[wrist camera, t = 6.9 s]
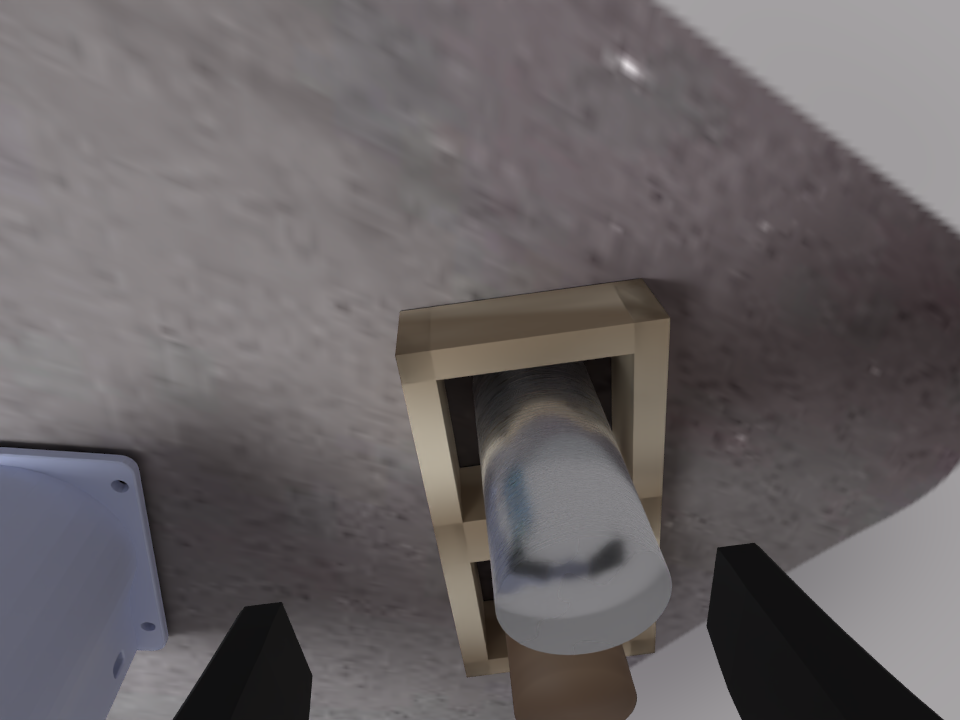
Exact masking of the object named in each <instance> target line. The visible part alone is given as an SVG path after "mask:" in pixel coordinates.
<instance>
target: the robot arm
mask: <svg viewBox="0 0 960 720" xmlns="http://www.w3.org/2000/svg"><path fill="white" fill-rule="evenodd" d="M118 480H120V481H124V482H125V483H127V484H123V483H121V482H120V481H118ZM707 629H708V632H709V635H710V638H711V641H712V644H713V647H714V650H715V653H716V656H717V659H718V662H719V665H720V668H721V671H722V674H723V676H724V679H725V682H726V685H727V688H728V690H729V692H730V695H731V697H732V699H733V701H734V704H735V706H736V708H737V710H738V713H739V715H740V717H741V719H742V720H943V719H942V718H941V717H940V716H938V714H936V713H935V712H934V711H933V710H932V709H931V708H929V707H928V706H927V705H926V704H924V703H923V702H922V701H921V700H920V699H919V698H918V697H916V696H915V695H914V694H913V693H912V692H911V691H910V690H908V689H907V688H906V687H905V686H904V685H903V684H902V683H901V682H899V681H898V680H897V679H896V678H895V677H894V676H893V675H891V674H890V673H889V672H888V671H887V670H886V669H885V668H884V667H883V666H882V665H881V664H879V663H878V662H877V661H876V660H875V659H874V658H873V657H872V656H871V655H869V653H867V652H866V651H865V650H864V649H863V648H862V647H861V646H860V645H859V644H858V643H857V642H856V641H855V640H853V639H852V638H851V637H850V636H849V635H848V634H847V633H846V632H845V631H844V630H843V629H842V628H841V627H840V626H838V624H837V623H835V622H834V621H833V620H832V619H831V618H830V617H829V616H828V615H827V614H826V613H825V612H824V611H823V610H822V609H821V608H820V607H819V606H818V605H817V604H816V603H815V602H814V601H813V600H812V599H811V598H810V597H809V596H808V595H807V594H806V593H804V591H803V590H802V589H801V588H800V587H799V586H798V585H797V584H796V583H795V582H794V581H793V580H792V579H791V578H789V576H788V575H787V574H786V573H785V572H784V571H783V570H782V569H781V568H780V567H779V566H778V565H777V564H776V563H775V562H774V561H773V560H772V559H771V558H770V557H769V556H768V555H767V554H766V553H765V552H764V551H763V550H762V549H761V548H760V547H759V546H757V545H756V544H755V543H750V544H742V545H734V546H726V547H718V548H717V554H716V561H715V568H714V576H713V583H712V590H711V598H710V605H709V612H708V619H707ZM168 636H169V635H168V630H167V624H166V619H165V613H164V607H163V602H162V596H161V590H160V585H159V579H158V573H157V568H156V562H155V556H154V551H153V545H152V539H151V534H150V528H149V523H148V517H147V511H146V506H145V500H144V494H143V489H142V483H141V477H140V472H139V467H138V465H137V463H136V462H135V461H134V460H133V459H131V458H129V457H127V456H123V455H114V454H99V453H83V452H68V451H53V450H38V449H23V448H8V447H0V720H106V717H107V715H108V713H109V711H110V709H111V706H112V704H113V702H114V700H115V698H116V695H117V693H118V691H119V689H120V686H121V684H122V682H123V680H124V678H125V675H126V673H127V671H128V669H129V666H130V664H131V662H132V660H133V658H134V655H135V653H136V651H137V650H149V651H154V650H159V649H162V648H163V647H164V646H165V645H166V642H167V640H168ZM311 687H312V673H311V671H310V669H309V666H308V664H307V661H306V659H305V657H304V654H303V652H302V649H301V647H300V645H299V642H298V640H297V637H296V635H295V633H294V630H293V628H292V625H291V623H290V621H289V618H288V616H287V613H286V611H285V609H284V606H283V604H282V602H278V603H270V604H262V605H254V606H246V607H244V608H243V610H242V611H241V612H240V613H239V615H238V617H237V618H236V620H235V621H234V623H233V625H232V626H231V628H230V630H229V631H228V633H227V634H226V636H225V638H224V639H223V641H222V643H221V644H220V646H219V648H218V649H217V651H216V652H215V654H214V656H213V657H212V659H211V661H210V662H209V664H208V665H207V667H206V669H205V670H204V672H203V673H202V675H201V676H200V678H199V680H198V681H197V683H196V684H195V686H194V688H193V689H192V691H191V692H190V694H189V695H188V697H187V699H186V700H185V702H184V703H183V705H182V706H181V708H180V709H179V711H178V712H177V714H176V715H175V717H174V718H173V720H309V712H310V699H311Z"/></svg>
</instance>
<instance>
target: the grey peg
mask: <svg viewBox="0 0 960 720" xmlns="http://www.w3.org/2000/svg"><path fill="white" fill-rule="evenodd" d="M472 387H473V398H474V408H475V417H476V427H477V437H478V447H479V456H480V466H481V476H482V485H483V495H484V505H485V515H486V524H487V534H488V544H489V554H490V563H491V573H492V583H493V592H494V602H495V612H496V616H497V619H498V622H499V624H500V625H501V627H502V628H503V630H504V631H505V632H506V633H507V634H508V635H509V636H510V637H511V638H512V639H514V640H515V641H517V642H518V643H520V644H522V645H524V646H526V647H528V648H531V649H533V650H536V651H540V652H544V653H550V654H559V655H578V654H588V653H593V652H598V651H602V650H606V649H609V648H612V647H615V646H618V645H620V644H623V643H625V642H627V641H629V640H631V639H633V638H634V637H636V636H638V635H639V634H641V633H642V632H644V631H645V630H646V629H648V628H649V627H650V626H651V625H652V624H653V623H654V622H655V621H656V620H657V619H658V618H659V617H660V616H661V614H662V613H663V612H664V610H665V608H666V606H667V605H668V603H669V600H670V597H671V592H672V579H671V575H670V572H669V570H668V567H667V565H666V562H665V560H664V557H663V555H662V552H661V550H660V548H659V545H658V543H657V540H656V538H655V535H654V533H653V530H652V528H651V526H650V523H649V521H648V518H647V516H646V513H645V511H644V508H643V506H642V504H641V501H640V499H639V496H638V494H637V491H636V489H635V486H634V484H633V482H632V479H631V477H630V474H629V472H628V469H627V467H626V464H625V462H624V460H623V457H622V455H621V452H620V450H619V447H618V445H617V442H616V440H615V438H614V435H613V433H612V430H611V428H610V425H609V423H608V420H607V418H606V416H605V413H604V411H603V408H602V406H601V403H600V401H599V398H598V396H597V394H596V391H595V389H594V386H593V384H592V381H591V379H590V376H589V374H588V372H587V369H586V367H585V364H584V362H583V360H582V361H575V362H567V363H560V364H553V365H545V366H538V367H530V368H523V369H516V370H508V371H501V372H494V373H486V374H479V375H474V377H473V384H472Z"/></svg>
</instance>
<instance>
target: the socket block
mask: <svg viewBox="0 0 960 720" xmlns="http://www.w3.org/2000/svg"><path fill="white" fill-rule="evenodd" d="M669 336H670V317H669V316H668V314H667V313H666V311H665V310H664V309H663V307H662V306H661V305H660V303H659V302H658V300H657V299H656V298H655V296H654V295H653V293H652V292H651V291H650V289H649V288H648V287H647V285H646V284H645V282H644V281H643V280H642V279H634V280H627V281H620V282H612V283H605V284H598V285H590V286H583V287H576V288H568V289H561V290H553V291H546V292H539V293H531V294H524V295H517V296H509V297H502V298H495V299H487V300H480V301H473V302H465V303H458V304H451V305H443V306H436V307H429V308H421V309H414V310H407V311H400V316H399V325H398V334H397V344H396V353H395V357H396V361H397V366H398V370H399V375H400V379H401V384H402V388H403V393H404V397H405V402H406V406H407V411H408V415H409V420H410V424H411V429H412V433H413V438H414V442H415V447H416V451H417V456H418V460H419V465H420V469H421V474H422V478H423V482H424V487H425V491H426V496H427V500H428V505H429V509H430V514H431V518H432V523H433V527H434V532H435V536H436V541H437V545H438V550H439V554H440V559H441V563H442V568H443V572H444V577H445V581H446V586H447V590H448V595H449V599H450V604H451V608H452V613H453V617H454V622H455V626H456V631H457V635H458V640H459V644H460V649H461V653H462V658H463V662H464V667H465V671H466V676H467V677H475V676H482V675H490V674H497V673H505V672H510V678H511V687H512V696H513V705H514V714H515V718H516V720H625V719H626V718H627V717H628V716H629V715H630V714H631V713H632V711H633V710H634V708H635V705H636V702H637V694H636V691H635V687H634V684H633V680H632V677H631V673H630V670H629V666H628V663H627V659H626V656H634V655H641V654H649V653H655V634H656V621H655V622H654V623H653V624H652V625H651V626H650V627H649V628H648V629H646V630H645V631H644V632H642V633H641V634H639V635H638V636H636V637H634V638H633V639H631V640H629V641H627V642H625V643H623V644H620V645H618V646H615V647H612V648H609V649H606V650H602V651H598V652H593V653H588V654H578V655H559V654H550V653H544V652H540V651H536V650H533V649H531V648H528V647H526V646H524V645H522V644H520V643H518V642H517V641H515V640H514V639H512V638H511V637H510V636H509V635H508V634H507V633H506V632H505V631H504V630H503V628H502V627H501V625H500V624H499V622H498V619H497V616H496V612H495V602H494V600H490V601H483V595H482V590H481V584H480V579H479V573H478V567H477V562H479V561H486V560H490V554H489V544H488V534H487V524H486V515H485V505H484V495H483V485H482V476H481V466H480V465H478V466H470V467H463V468H460V467H459V461H458V456H457V450H456V444H455V439H454V433H453V428H452V422H451V416H450V411H449V405H448V400H447V394H446V388H445V383H444V379H449V378H457V377H464V376H471V375H479V374H486V373H494V372H501V371H508V370H516V369H523V368H530V367H538V366H545V365H553V364H560V363H567V362H575V361H582V360H590V359H597V358H604V357H611V382H612V433H613V435H614V438H615V440H616V442H617V445H618V447H619V450H620V452H621V455H622V457H623V460H624V462H625V464H626V467H627V469H628V472H629V474H630V477H631V479H632V482H633V484H634V486H635V489H636V491H637V494H638V496H639V499H640V501H641V504H642V506H643V508H644V511H645V513H646V516H647V518H648V521H649V523H650V526H651V528H652V530H653V533H654V535H655V538H656V540H657V543H658V545H659V548H660V528H661V506H662V485H663V464H664V443H665V421H666V400H667V379H668V357H669Z"/></svg>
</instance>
